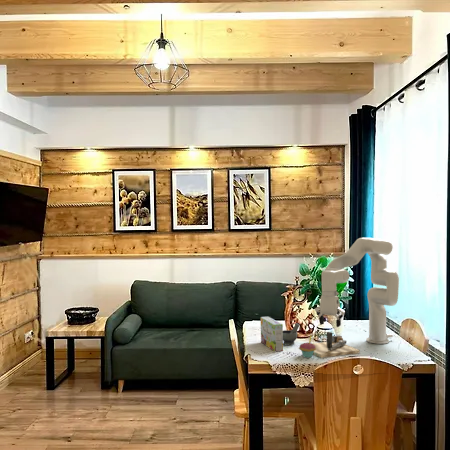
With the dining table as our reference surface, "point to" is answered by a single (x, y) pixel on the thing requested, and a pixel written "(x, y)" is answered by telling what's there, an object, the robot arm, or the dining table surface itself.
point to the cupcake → (307, 348)
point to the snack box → (272, 333)
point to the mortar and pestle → (290, 335)
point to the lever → (329, 342)
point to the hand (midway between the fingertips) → (330, 325)
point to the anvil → (335, 338)
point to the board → (342, 350)
